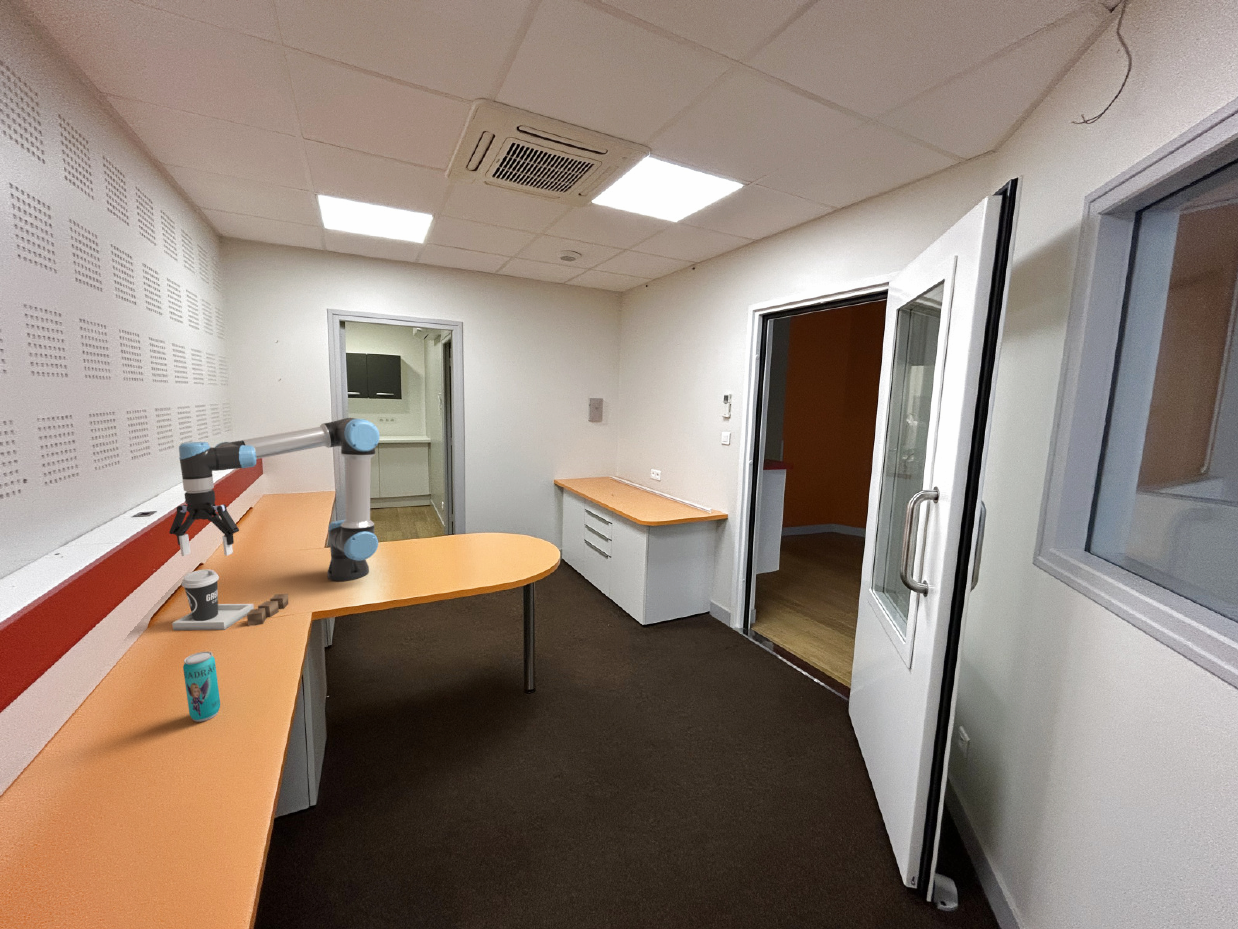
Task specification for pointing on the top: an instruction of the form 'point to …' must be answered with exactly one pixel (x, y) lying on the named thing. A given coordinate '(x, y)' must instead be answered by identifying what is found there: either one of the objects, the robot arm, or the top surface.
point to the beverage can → (201, 686)
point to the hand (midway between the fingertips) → (207, 554)
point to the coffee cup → (202, 594)
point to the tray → (215, 618)
